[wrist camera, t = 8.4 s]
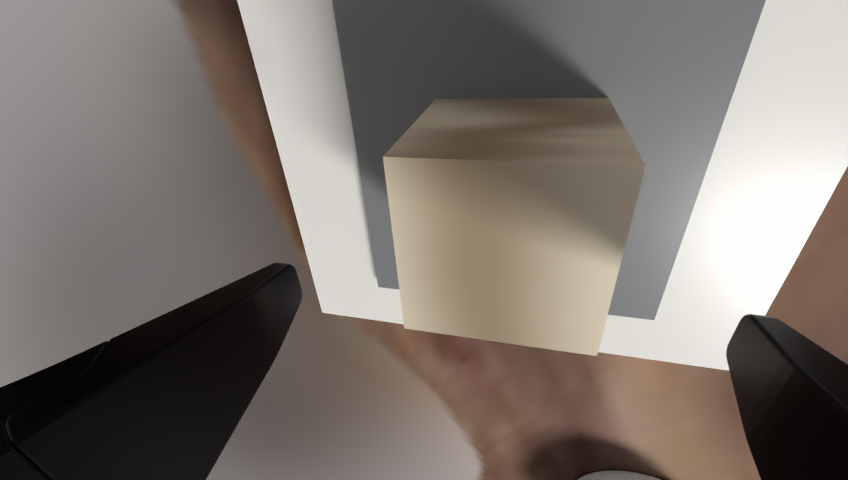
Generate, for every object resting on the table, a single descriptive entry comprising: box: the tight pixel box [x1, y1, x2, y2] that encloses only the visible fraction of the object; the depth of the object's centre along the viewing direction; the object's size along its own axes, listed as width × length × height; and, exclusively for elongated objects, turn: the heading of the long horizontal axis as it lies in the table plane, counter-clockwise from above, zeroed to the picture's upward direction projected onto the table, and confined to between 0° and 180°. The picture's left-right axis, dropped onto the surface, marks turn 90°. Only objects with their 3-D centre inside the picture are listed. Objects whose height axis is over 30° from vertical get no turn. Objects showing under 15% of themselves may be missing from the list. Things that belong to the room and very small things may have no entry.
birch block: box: [383, 98, 646, 356], centre depth 11 cm, size 5×5×5 cm
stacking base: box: [237, 0, 848, 370], centre depth 14 cm, size 18×16×3 cm
